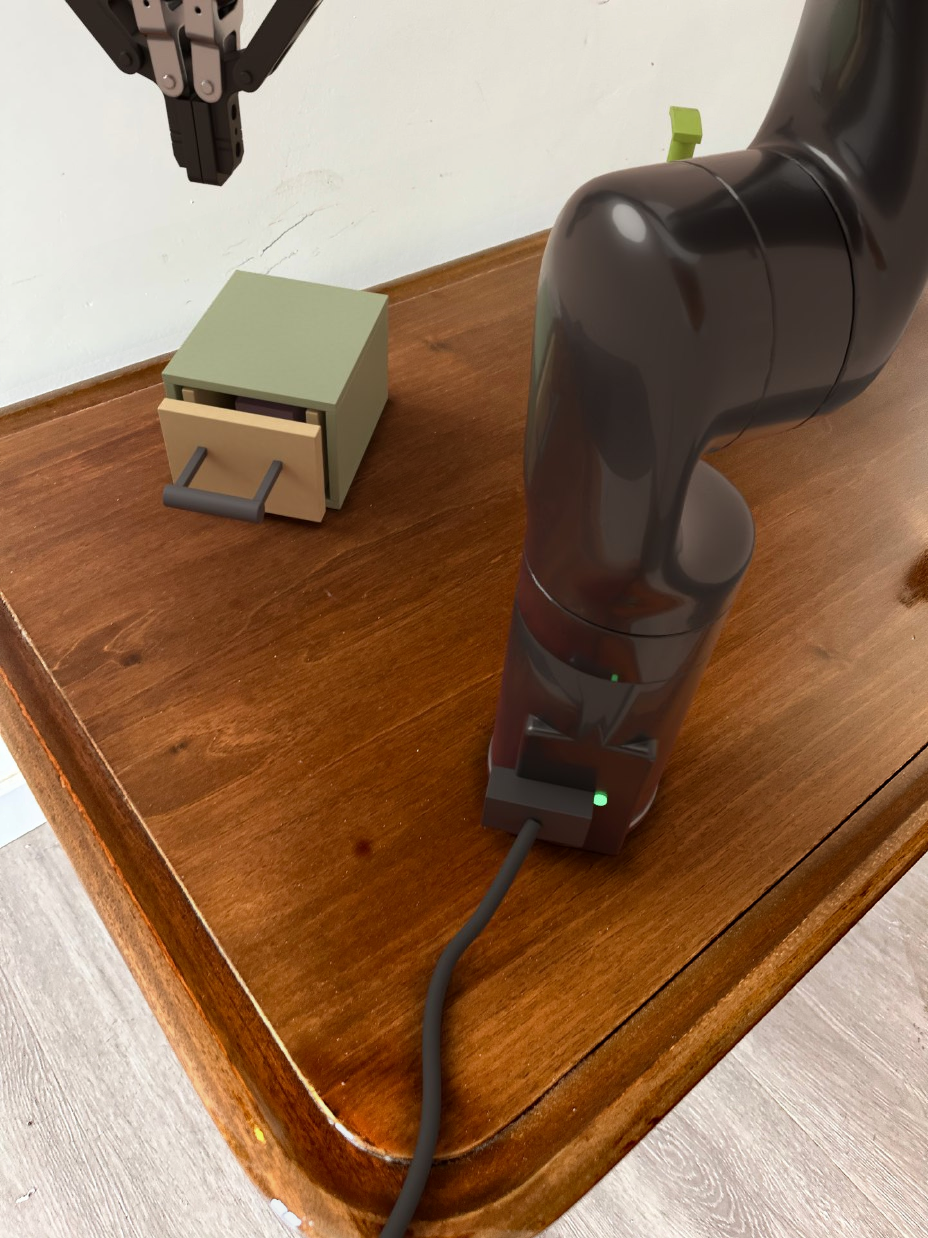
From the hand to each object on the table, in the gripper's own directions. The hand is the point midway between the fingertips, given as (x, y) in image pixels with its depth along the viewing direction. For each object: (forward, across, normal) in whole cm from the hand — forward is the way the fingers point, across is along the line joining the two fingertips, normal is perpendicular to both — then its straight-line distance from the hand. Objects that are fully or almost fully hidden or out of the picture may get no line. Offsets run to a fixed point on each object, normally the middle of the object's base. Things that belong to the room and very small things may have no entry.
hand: (213, 177), depth 44 cm
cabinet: (+24, -2, +12) cm, 27 cm away
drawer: (+24, -2, +7) cm, 25 cm away
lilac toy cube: (+21, -2, +12) cm, 24 cm away
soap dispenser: (+25, +22, +28) cm, 43 cm away
